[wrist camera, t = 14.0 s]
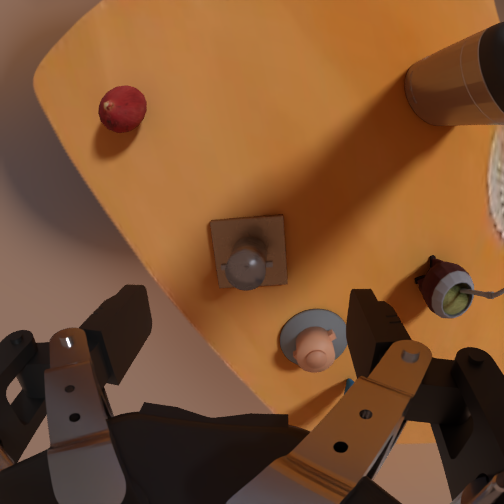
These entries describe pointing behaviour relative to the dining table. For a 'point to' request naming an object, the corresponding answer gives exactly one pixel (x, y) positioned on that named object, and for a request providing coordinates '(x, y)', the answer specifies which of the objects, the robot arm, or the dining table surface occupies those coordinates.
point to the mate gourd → (449, 289)
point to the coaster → (312, 319)
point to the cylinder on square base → (249, 251)
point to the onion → (122, 109)
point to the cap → (315, 349)
